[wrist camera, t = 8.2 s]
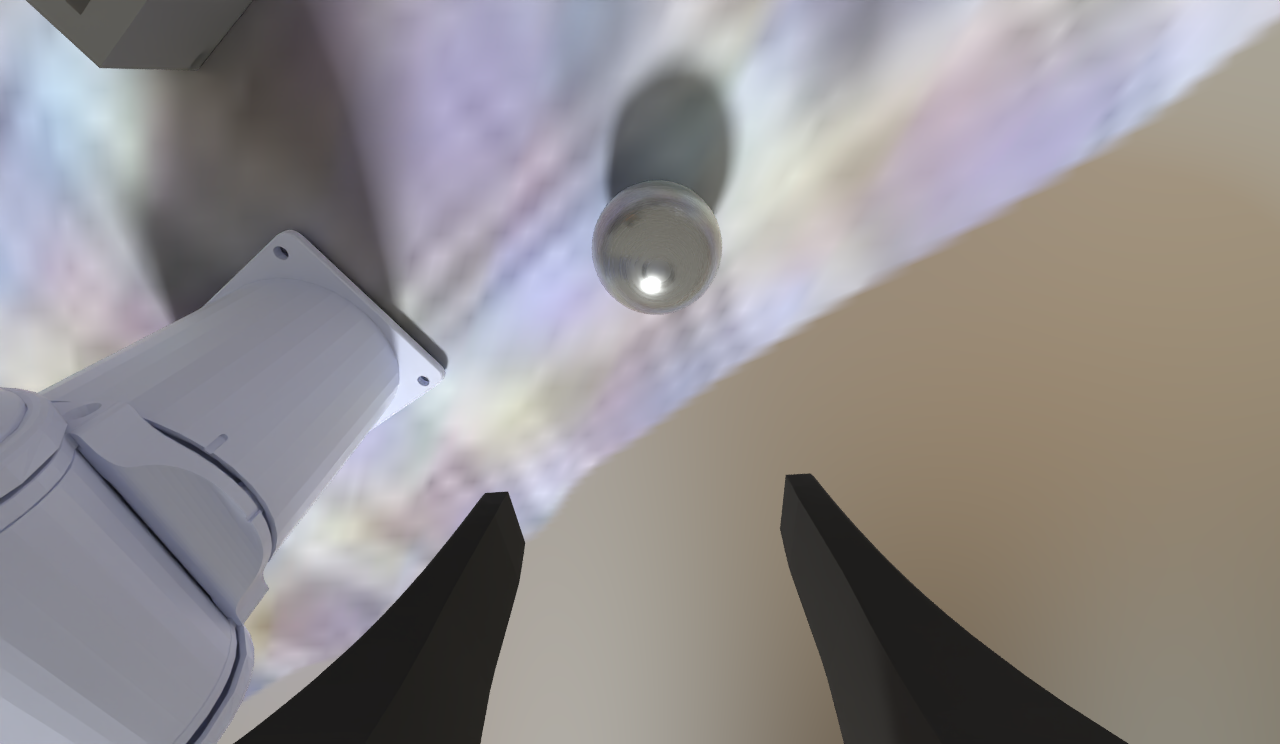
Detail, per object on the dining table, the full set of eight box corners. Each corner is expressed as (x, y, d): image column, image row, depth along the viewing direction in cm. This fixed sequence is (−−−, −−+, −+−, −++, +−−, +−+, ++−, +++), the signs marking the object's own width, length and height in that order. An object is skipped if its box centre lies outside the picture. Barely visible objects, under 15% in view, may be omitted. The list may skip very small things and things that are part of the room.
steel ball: (640, 305, 19) (640, 359, 16) (573, 216, 18) (555, 253, 14) (733, 246, 18) (758, 289, 14) (672, 143, 16) (682, 161, 12)
